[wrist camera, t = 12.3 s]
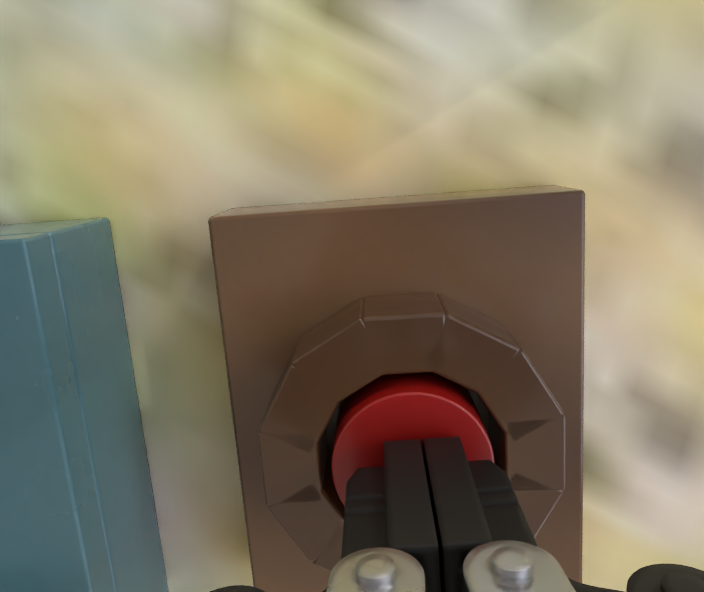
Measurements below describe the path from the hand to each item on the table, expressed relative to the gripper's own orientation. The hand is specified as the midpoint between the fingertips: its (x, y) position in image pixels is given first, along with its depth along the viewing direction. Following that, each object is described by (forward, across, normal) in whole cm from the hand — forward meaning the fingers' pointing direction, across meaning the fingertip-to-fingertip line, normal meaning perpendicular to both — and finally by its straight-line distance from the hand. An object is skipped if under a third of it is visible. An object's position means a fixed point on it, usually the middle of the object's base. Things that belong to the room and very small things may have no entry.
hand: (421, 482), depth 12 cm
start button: (+2, 0, 0) cm, 2 cm away
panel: (+4, 0, 0) cm, 4 cm away
